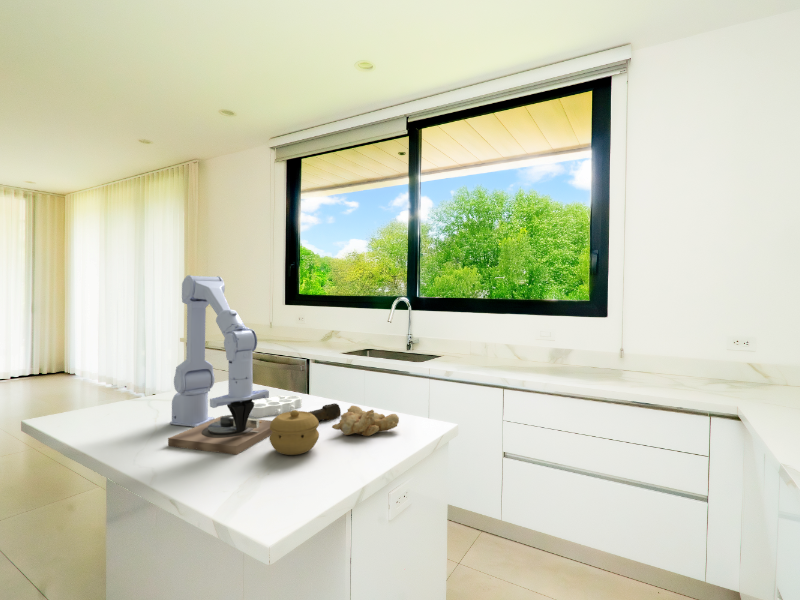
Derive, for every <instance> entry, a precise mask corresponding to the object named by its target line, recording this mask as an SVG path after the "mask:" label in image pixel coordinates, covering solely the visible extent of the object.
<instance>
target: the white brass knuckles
mask: <svg viewBox="0 0 800 600" xmlns="http://www.w3.org/2000/svg"><path fill="white" fill-rule="evenodd" d="M302 400H303V398H302V397H301V396H299V395H290V396H287V395H286V396H284V395H276V396H272V397H269V398H262V399H257V400H252V402H254V407H253V409H252V411H251V413H250V416H251V417H252V416H254V417H253V418H264V417H267V416H268V415H269V416H276V415H277V416H278V415H280V414H282V413H286V412H291V411H293V410H297V409H301V408H302V407H303V406H302V405H303V401H302Z"/></svg>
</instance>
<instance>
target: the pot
mask: <svg viewBox="0 0 800 600" xmlns="http://www.w3.org/2000/svg"><path fill="white" fill-rule="evenodd" d="M309 412H310V411H303V410H302V411H301V410H297V409H294V410H293V411H290V412H285V413H282V414H278V415H277V416H275V417H274V418H273V419H272V420H271V421H272V422H271V424H270V430H271V431H272V434H271V435H270V436H269V439H268V440H269V441H270V445H271V447H272V448H273V449H274V450H275V451H276V452H278V454H281V455H287V456H294V455H295V456H296V455H301V454H304V453H307V452H309V451H311V449H313V448H314V446H315V445H316V443H317V442H318V440H319V438H320V433H319V431H318V427H319V426H320V425H319V424H320V421H318V419H317V418H316V417H315V416H314V415H313V414H311V413H309Z"/></svg>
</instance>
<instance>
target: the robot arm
mask: <svg viewBox="0 0 800 600" xmlns="http://www.w3.org/2000/svg"><path fill="white" fill-rule="evenodd" d="M224 281H225V280H224V279H223V278H222V277H221V276H219V275H217V276H205V275H202V276H201V275H191V274H188V275H186V276H185V277H184V279H183V280H182V283H181V302H182V303H183V304H185V305H186V314H187V315H186V359H184V361H182V362H181V363H180V364H178V365H177V366H176V368H175V373H174V378H173V386H174V389H175V392H176V393H175V394H174V396H173V398H172V400H171V421H170V422H169V424H170V425H177V426H186V427H192V428H194V427H196V426H199V425H201V424H204V423H206V422H209V421H211V420H213V419H216V418H215V417H213V416H209V407H210V408H212V409H215V408H218V407H223V406H227V408H228V410H229V412H230V415H232V416H233V419H234V422H235V425H236V430H237V431H239V432H242V431H245V427H246V423H247V420H248V418H249V417H250V416H251V411H252V409H253V407H254V402H252V401H257V400H262V399H265V398H270V392H269V391H270V390H267V389H260V390H259V389H258V390H253V358H254V357H253V352H254V351H256V349H257V346H258V336H257V333H256V331H255V330H254V329H253V328H250V327H248V326H246V325H245V323H244V321H243V320H242V318H241V317H240V315H239V313H238V311H237V310H235V309H231V308H230V305H229V302H228V301H227V298H226V296H225V289H226V285H225V282H224ZM209 305H210V306H211V308H212V309H213V311H214V313H215V314H216V319H215V323H216V324H217V327H218V328H219V330H220V332H221V334H222V335H223V337H224V341H223V347H224V351H225V356H226V357H225V358H226V361H228V394H224V395H221V396H217V397H213V398H212V397H211V398H209V392H210V391H211V389H212V388H213V386H214V385H215V383H216V382H215V379H216V378H215V373H214V365H213V364H212V363H211V362H210V361H208V360H206V312H207V311H206V310H207V309H206V308H207V307H208V306H209Z"/></svg>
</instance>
